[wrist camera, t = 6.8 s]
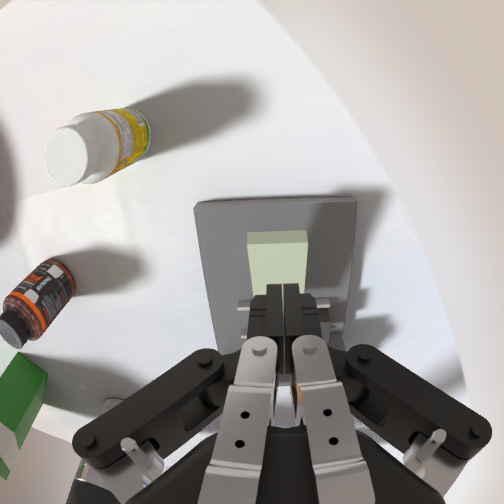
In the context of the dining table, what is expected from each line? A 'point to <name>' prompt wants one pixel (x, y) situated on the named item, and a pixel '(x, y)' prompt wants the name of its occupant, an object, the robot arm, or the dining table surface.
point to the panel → (238, 269)
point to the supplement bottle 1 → (35, 303)
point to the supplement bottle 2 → (96, 146)
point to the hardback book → (18, 407)
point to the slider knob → (324, 323)
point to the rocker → (277, 258)
